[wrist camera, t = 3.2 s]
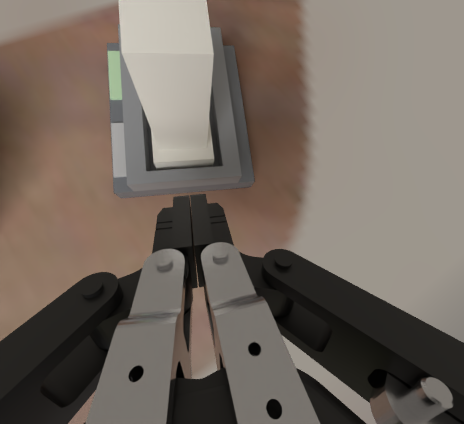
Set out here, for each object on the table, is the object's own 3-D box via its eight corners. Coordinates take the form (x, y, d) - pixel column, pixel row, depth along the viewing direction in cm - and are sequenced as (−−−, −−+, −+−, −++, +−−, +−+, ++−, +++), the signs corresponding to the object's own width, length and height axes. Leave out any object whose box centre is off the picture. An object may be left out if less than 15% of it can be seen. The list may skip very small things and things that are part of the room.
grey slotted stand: (121, 198, 17) (104, 186, 14) (114, 59, 19) (98, 23, 16) (250, 187, 18) (260, 174, 15) (231, 60, 20) (236, 28, 17)
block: (158, 172, 16) (109, 74, 7) (154, 120, 16) (104, -28, 8) (212, 169, 16) (227, 74, 8) (206, 119, 17) (214, -20, 8)
